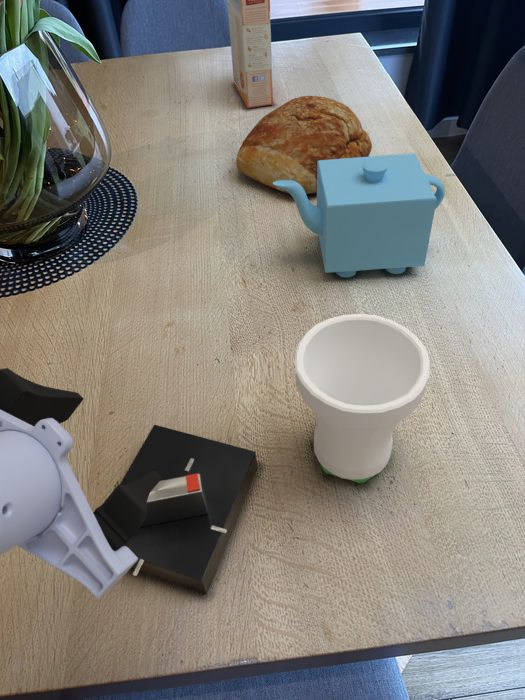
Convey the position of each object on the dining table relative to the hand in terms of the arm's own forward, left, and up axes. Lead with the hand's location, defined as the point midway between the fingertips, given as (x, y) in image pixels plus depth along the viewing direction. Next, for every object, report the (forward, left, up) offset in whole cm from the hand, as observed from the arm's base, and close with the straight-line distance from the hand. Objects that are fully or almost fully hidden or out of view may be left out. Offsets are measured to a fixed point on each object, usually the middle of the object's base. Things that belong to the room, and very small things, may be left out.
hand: (110, 444), depth 38 cm
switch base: (+5, 0, -17) cm, 18 cm away
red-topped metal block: (+3, 0, -14) cm, 15 cm away
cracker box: (+97, +26, -18) cm, 101 cm away
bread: (+69, +8, -18) cm, 71 cm away
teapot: (+48, -7, -18) cm, 51 cm away
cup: (+16, -14, -18) cm, 27 cm away
